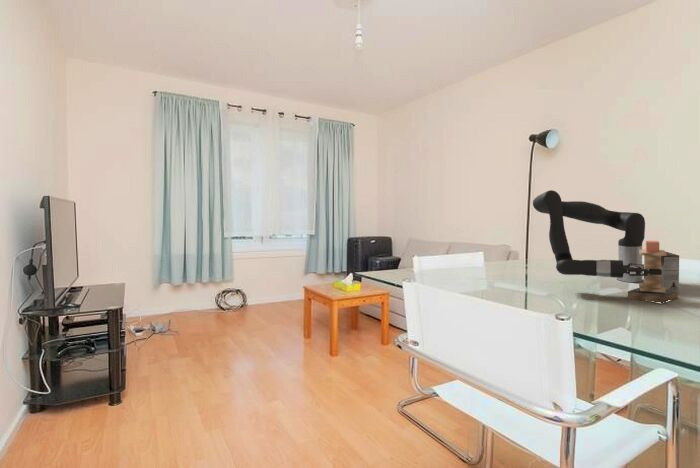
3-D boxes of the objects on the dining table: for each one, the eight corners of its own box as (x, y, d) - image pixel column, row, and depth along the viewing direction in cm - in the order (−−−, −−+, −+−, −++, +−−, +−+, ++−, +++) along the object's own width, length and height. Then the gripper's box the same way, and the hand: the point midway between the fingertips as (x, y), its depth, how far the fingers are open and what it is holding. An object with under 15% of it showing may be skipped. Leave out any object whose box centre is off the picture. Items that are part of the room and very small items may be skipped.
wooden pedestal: (640, 291, 150) (640, 252, 148) (638, 286, 156) (639, 249, 154) (666, 292, 145) (666, 253, 143) (663, 287, 152) (663, 249, 150)
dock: (627, 297, 154) (627, 290, 154) (643, 292, 159) (643, 285, 159) (661, 304, 143) (661, 296, 143) (677, 298, 148) (677, 291, 148)
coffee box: (649, 287, 165) (649, 252, 164) (666, 286, 164) (666, 251, 163) (662, 292, 157) (662, 255, 155) (680, 292, 155) (680, 255, 154)
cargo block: (646, 251, 148) (646, 242, 148) (645, 250, 152) (645, 240, 151) (659, 252, 146) (659, 242, 146) (658, 250, 149) (658, 240, 149)
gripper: (609, 263, 152) (663, 265, 142) (609, 257, 163) (658, 258, 154) (609, 280, 153) (662, 283, 143) (609, 273, 164) (658, 275, 154)
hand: (660, 270), depth 148 cm, fingers closed on wooden pedestal, 5 cm apart
